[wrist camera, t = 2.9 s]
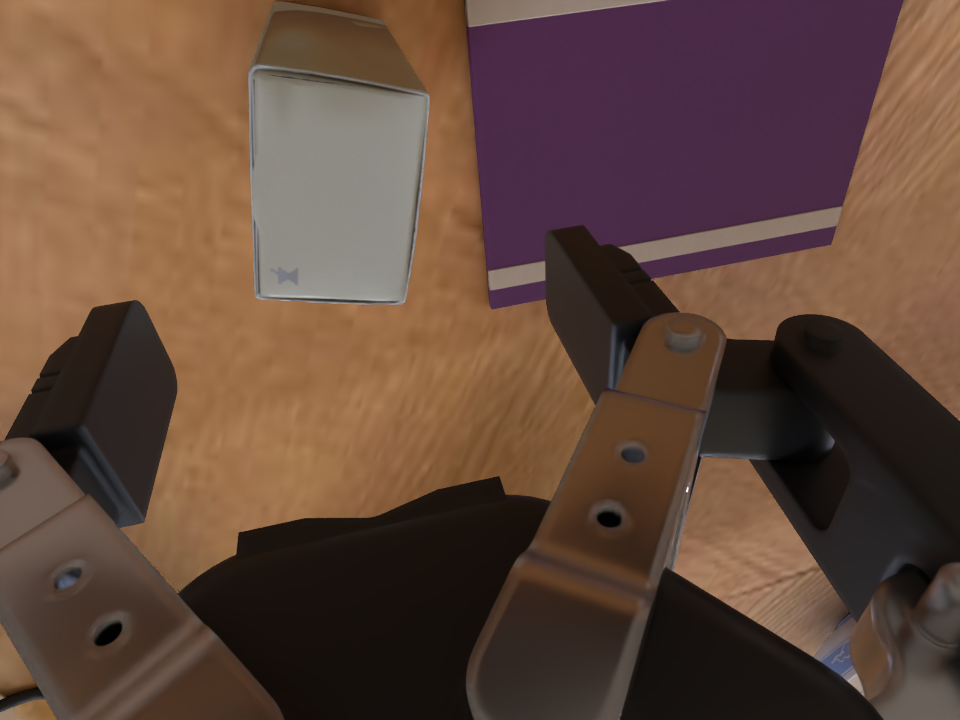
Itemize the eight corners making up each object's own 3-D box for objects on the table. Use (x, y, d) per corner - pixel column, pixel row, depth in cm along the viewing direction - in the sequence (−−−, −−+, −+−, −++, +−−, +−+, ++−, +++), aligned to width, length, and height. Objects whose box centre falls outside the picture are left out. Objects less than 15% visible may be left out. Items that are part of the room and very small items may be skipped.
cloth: (489, 305, 34) (491, 310, 34) (460, -45, 24) (462, -44, 24) (826, 241, 36) (831, 245, 36) (926, -101, 26) (934, -101, 26)
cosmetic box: (373, 170, 28) (407, 318, 19) (271, 160, 27) (252, 312, 18) (387, 9, 25) (439, 91, 15) (270, -11, 23) (245, 63, 14)
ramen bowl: (1007, 526, 63) (1085, 598, 57) (935, 638, 78) (991, 706, 71) (776, 593, 61) (830, 676, 55) (746, 696, 76) (786, 771, 69)
